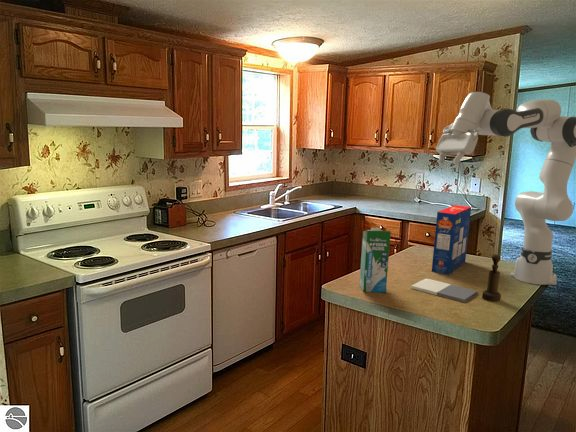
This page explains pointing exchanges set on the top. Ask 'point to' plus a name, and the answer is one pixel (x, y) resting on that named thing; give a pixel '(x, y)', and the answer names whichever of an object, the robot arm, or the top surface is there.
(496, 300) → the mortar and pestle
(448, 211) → the pasta box
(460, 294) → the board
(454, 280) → the top surface
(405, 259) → the top surface
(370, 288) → the milk carton
